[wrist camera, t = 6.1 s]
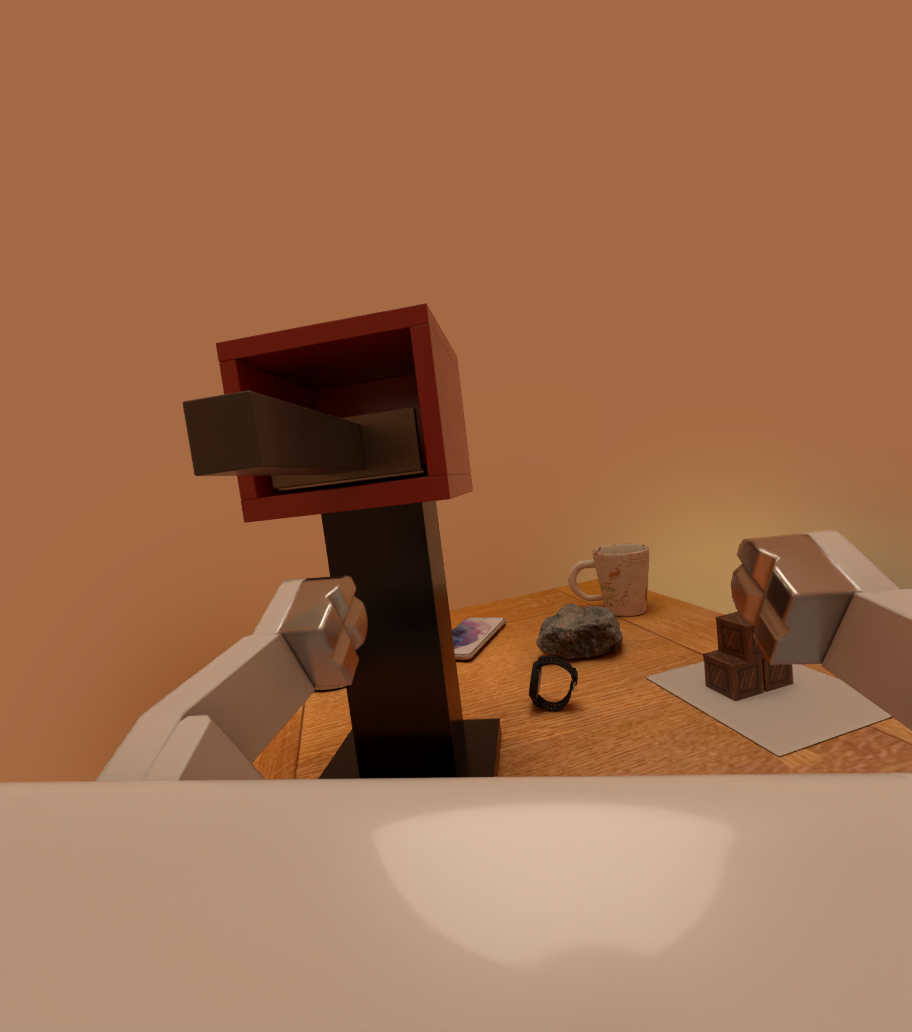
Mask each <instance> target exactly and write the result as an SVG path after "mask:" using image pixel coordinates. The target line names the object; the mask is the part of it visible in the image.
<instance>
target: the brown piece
mask: <svg viewBox="0 0 912 1032" xmlns="http://www.w3.org/2000/svg"><path fill="white" fill-rule="evenodd" d="M183 408H184V414H185V420H186V425H187V432H188V438H189V444H190V450H191V455H192V462H193V468H194V474H195V475H196V476H257V475H271V479H272V485H273V489H278V491H293V490H306V489H319V488H333V487H341V486H349V485H357V484H365V483H373V482H381V481H389V480H397V479H405V478H413V477H421V476H428V469H427V465H425V464H423V463H422V455H421V447H420V439H419V431H418V423H417V415H416V409H415V408H414V407H411V408H404V409H397V410H391V411H384V412H378V413H371V414H365V415H358V416H351V417H345V418H339V417H335V416H332V415H329V414H325V413H322V412H319V411H315V410H312V409H309V408H305V407H302V406H299V405H295V404H292V403H289V402H285V401H282V400H278V399H275V398H272V397H268V396H265V395H262V394H258V393H255V392H252V391H243V392H237V393H231V394H225V395H220V396H214V397H208V398H202V399H196V400H190V401H185V402H183Z"/></svg>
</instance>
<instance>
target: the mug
mask: <svg viewBox="0 0 912 1032" xmlns="http://www.w3.org/2000/svg"><path fill="white" fill-rule="evenodd" d="M593 558H594V560H585V561H580V562H578V563H576V564H575V565H574V566H573V568H572V569H571V571H570V573H569V578H568V582H569V586H570V588H571V590H572V591H573V592H574V594H576V595H577V596H578V597H580V598H582V599H584V600H587V601H598V600H603V601H604V605H605V607H606V608H609V609H610V610H611V611H612V612H613V614H614V615H615V616H636V615H640V614H643V613H645V612H646V608H647V588H648V568H649V547H648V546H646V545H641V544H615V545H607V546H601V547H598V548H595V549H593ZM584 568H596V570H597V575H598V579H599V583H600V588H601V592H602V595H592V596H588V595H586V594H584V593H583V592H582V591H581V590H580V589H579V587H578V585H577V583H576V577H577V574H578V573H579V572H580V570H582V569H584Z"/></svg>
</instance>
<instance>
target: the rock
mask: <svg viewBox="0 0 912 1032" xmlns="http://www.w3.org/2000/svg"><path fill="white" fill-rule="evenodd" d="M619 626H620V625H619V622H618V620H617V619H616V617H615V615H614V614H613V612H612V611H611V610H610V609H609V608H606V607H601V606H595V607H579V606H576V605H575V604H572V603H571V604H566V605H564V607H563V608H561V609H560V610H559V612H558V613H557V614H556V615H554V616H551V617H549V618H547V619H546V620H545V621H544V622H543V624H542V626H541V628H540V633H539V636H538V639H537V646H538V647H539V648H540V650H541V651H542V652H543V653H545V654H547V655H549V656H557V657H562V658H566V659H575V658H581V657H587V658H589V657H592V656H593V657H594V656H597V655H602V654H605V653H608V652H610V651H617V650H618V647H619V645H620V644H621V642H622V632H621V631H620V627H619Z"/></svg>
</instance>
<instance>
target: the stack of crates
mask: <svg viewBox="0 0 912 1032" xmlns="http://www.w3.org/2000/svg"><path fill="white" fill-rule="evenodd" d="M716 624H717V637H718V650H717V651H713V652H709V653H705V654H703V656H704V661H703V662H700V663H696V664H692V665H688V666H685V667H681V668H677V669H673V670H670V671H666V672H662V673H658V674H655V675H651V676H647V677H646V678H647V679H649V680H651V681H653V682H654V683H656V684H658V685H659V686H661V687H663V688H664V689H666V690H668V691H669V692H671V693H673V694H674V695H676V696H678V697H680V698H681V699H683V700H685V701H686V702H688V703H690V704H691V705H693V706H695V707H696V708H698V709H700V710H702V711H703V712H705V713H707V714H708V715H710V716H712V717H713V718H715V719H717V720H718V721H720V722H722V723H724V724H725V725H727V726H729V727H730V728H732V729H734V730H735V731H737V732H739V733H740V734H742V735H744V736H745V737H747V738H749V739H751V740H752V741H754V742H756V743H757V744H759V745H761V746H762V747H764V748H766V749H767V750H769V751H771V752H773V753H774V754H776V755H778V756H782V755H784V754H787V753H790V752H793V751H796V750H799V749H801V748H804V747H807V746H810V745H813V744H816V743H819V742H821V741H824V740H827V739H830V738H833V737H836V736H838V735H841V734H844V733H847V732H850V731H853V730H855V729H858V728H861V727H864V726H867V725H870V724H872V723H875V722H878V721H881V720H884V719H887V718H890V717H892V716H891V715H890V714H888V713H887V712H885V711H884V710H883V709H881V708H880V707H878V706H877V705H876V704H874V703H873V702H871V701H870V700H869V699H867V698H866V697H864V696H863V695H862V694H860V693H859V692H857V691H856V690H855V689H853V688H852V687H850V686H849V685H848V684H846V683H845V682H843V681H842V680H840V679H837V678H834V677H832V676H829V675H826V674H824V673H821V672H818V671H815V670H813V669H810V668H807V667H804V666H802V665H799V664H787V665H770V664H769V662H768V660H767V659H766V657H765V655H764V654H763V652H762V651H761V649H760V647H759V646H758V644H757V642H756V641H755V639H754V637H753V633H754V630H755V626H754V625H753V624H751V623H749V622H748V621H746V620H745V619H743V618H742V617H741V615H740V614H739V612H735V613H731V614H727V615H723V616H719V617H716Z"/></svg>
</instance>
